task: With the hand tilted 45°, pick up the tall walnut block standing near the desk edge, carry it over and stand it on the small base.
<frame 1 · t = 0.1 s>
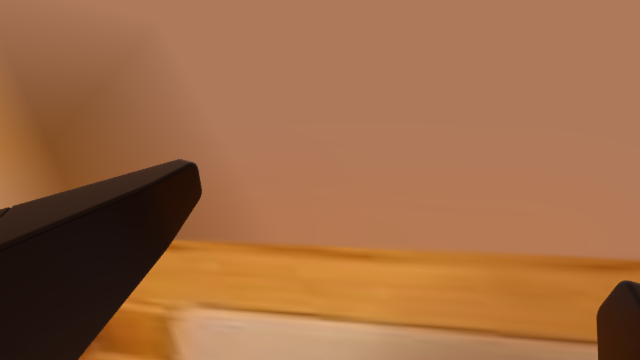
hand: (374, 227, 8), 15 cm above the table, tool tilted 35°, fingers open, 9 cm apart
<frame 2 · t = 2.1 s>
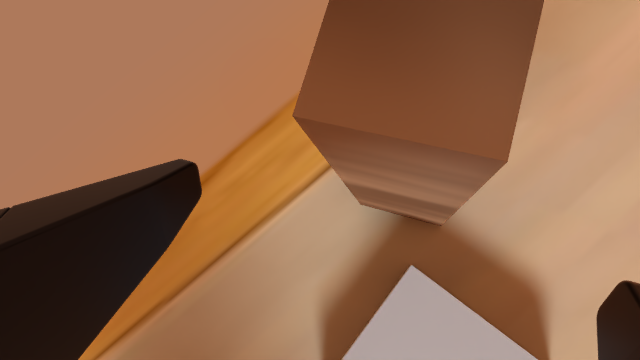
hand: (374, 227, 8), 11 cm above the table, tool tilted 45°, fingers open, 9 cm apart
walnut block: (409, 176, 19), on the table
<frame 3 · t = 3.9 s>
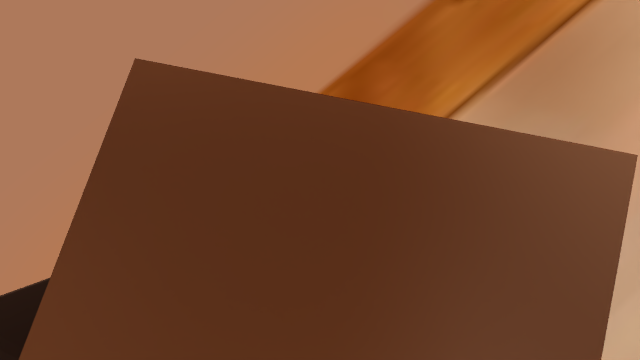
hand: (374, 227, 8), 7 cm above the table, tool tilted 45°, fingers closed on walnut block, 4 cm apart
walnut block: (378, 276, 14), on the table, touching gripper
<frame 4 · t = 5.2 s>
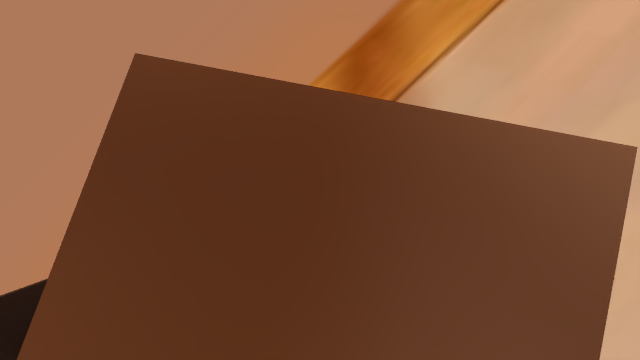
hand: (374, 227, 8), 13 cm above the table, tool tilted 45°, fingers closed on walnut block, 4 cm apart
walnut block: (378, 275, 14), point 6 cm above the table, touching gripper
when the fingers open (10 cm above the table, at t = 6.7 s): walnut block stays where it is, resting on base.
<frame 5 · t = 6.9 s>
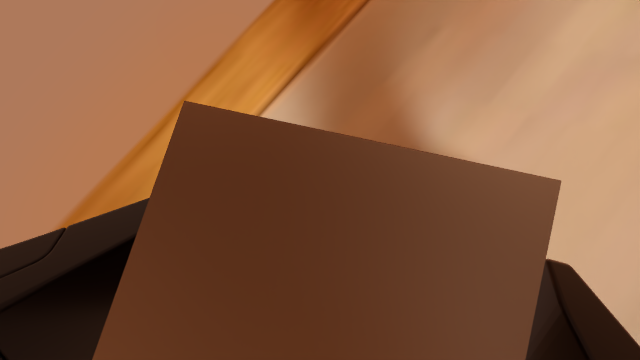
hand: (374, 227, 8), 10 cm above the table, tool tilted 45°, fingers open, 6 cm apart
walnut block: (380, 275, 15), point 3 cm above the table, touching base
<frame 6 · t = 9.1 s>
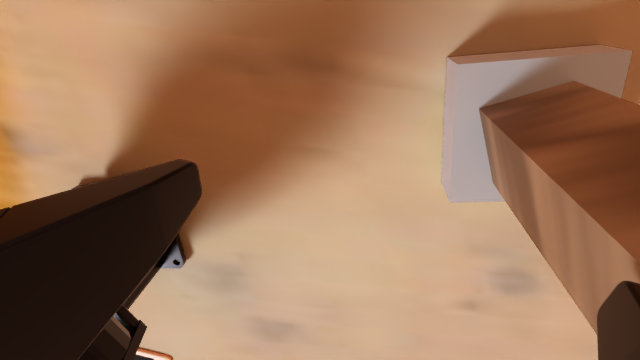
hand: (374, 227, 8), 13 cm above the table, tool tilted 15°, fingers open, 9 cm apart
base: (512, 120, 20), on the table
walnut block: (530, 135, 17), point 2 cm above the table, touching base
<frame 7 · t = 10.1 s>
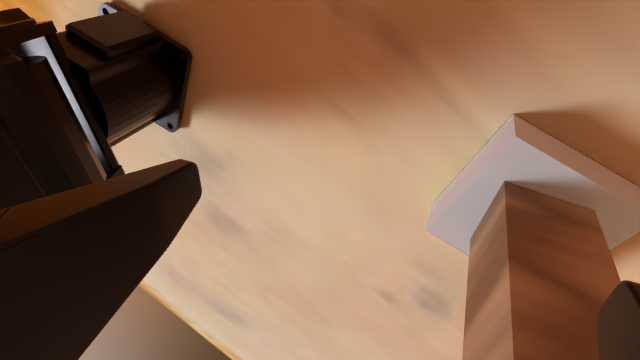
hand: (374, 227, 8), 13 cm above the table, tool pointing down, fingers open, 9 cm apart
base: (523, 197, 20), on the table
walnut block: (527, 225, 18), point 2 cm above the table, touching base
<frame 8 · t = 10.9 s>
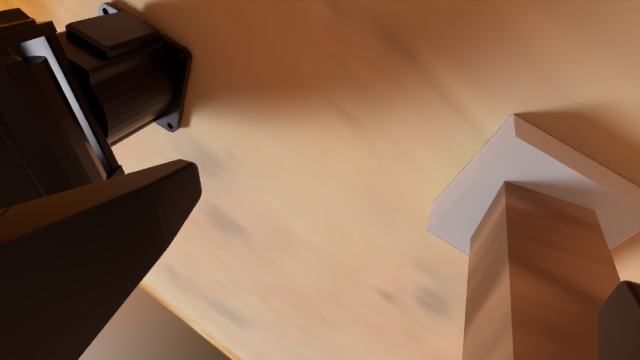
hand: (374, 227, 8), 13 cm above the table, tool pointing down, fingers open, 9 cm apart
base: (523, 197, 20), on the table
walnut block: (527, 225, 18), point 2 cm above the table, touching base
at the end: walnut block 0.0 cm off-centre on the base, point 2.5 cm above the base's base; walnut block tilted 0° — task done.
